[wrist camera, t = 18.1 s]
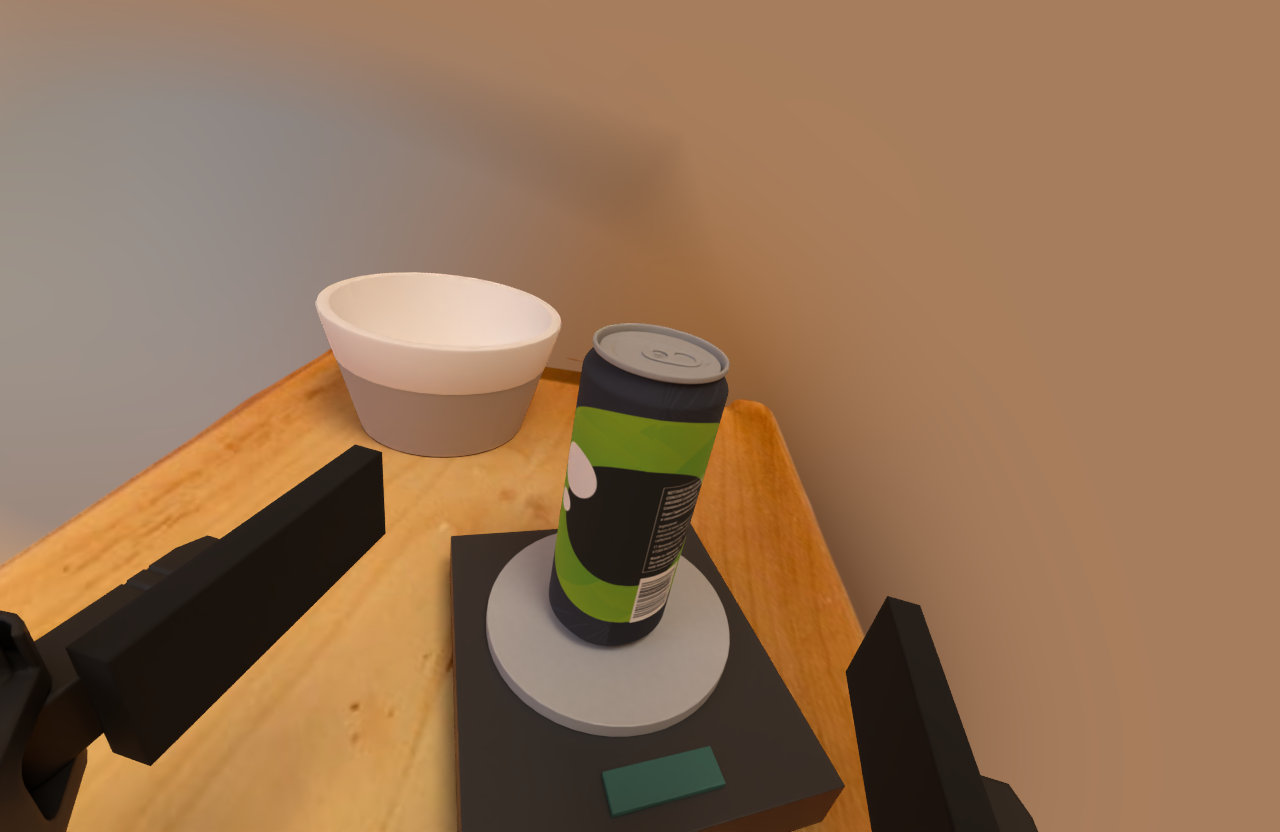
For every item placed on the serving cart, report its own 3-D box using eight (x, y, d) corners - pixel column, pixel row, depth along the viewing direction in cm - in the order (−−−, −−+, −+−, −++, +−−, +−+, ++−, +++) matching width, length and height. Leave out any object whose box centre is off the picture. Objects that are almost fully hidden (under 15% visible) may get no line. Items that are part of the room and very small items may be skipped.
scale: (679, 551, 40) (691, 511, 38) (822, 821, 25) (852, 775, 23) (449, 572, 34) (451, 525, 32) (460, 939, 19) (464, 890, 17)
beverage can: (657, 570, 32) (722, 334, 25) (665, 661, 27) (750, 392, 20) (553, 558, 31) (590, 311, 24) (539, 648, 26) (582, 364, 19)
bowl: (508, 498, 41) (520, 372, 36) (270, 442, 42) (250, 310, 37) (569, 396, 58) (583, 301, 53) (400, 357, 59) (398, 259, 54)
